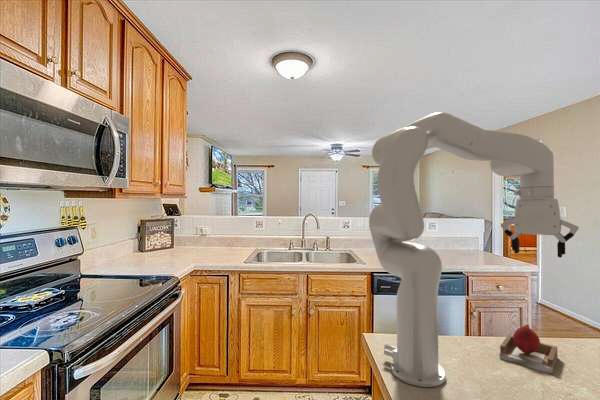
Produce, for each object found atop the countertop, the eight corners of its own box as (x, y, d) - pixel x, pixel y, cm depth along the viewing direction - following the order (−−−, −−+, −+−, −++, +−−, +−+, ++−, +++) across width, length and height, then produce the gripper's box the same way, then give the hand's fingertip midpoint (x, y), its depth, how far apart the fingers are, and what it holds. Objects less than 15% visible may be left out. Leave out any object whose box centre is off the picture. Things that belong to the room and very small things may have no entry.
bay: (499, 358, 82) (499, 346, 82) (508, 344, 89) (508, 334, 89) (552, 374, 74) (552, 361, 74) (557, 357, 82) (557, 346, 82)
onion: (538, 362, 78) (537, 330, 78) (511, 354, 82) (511, 324, 82) (541, 353, 82) (540, 324, 82) (515, 347, 86) (515, 318, 86)
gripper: (497, 194, 89) (498, 252, 89) (577, 192, 77) (578, 260, 77) (503, 195, 95) (504, 250, 94) (579, 193, 82) (580, 257, 82)
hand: (537, 254), depth 85 cm, fingers open, 9 cm apart
